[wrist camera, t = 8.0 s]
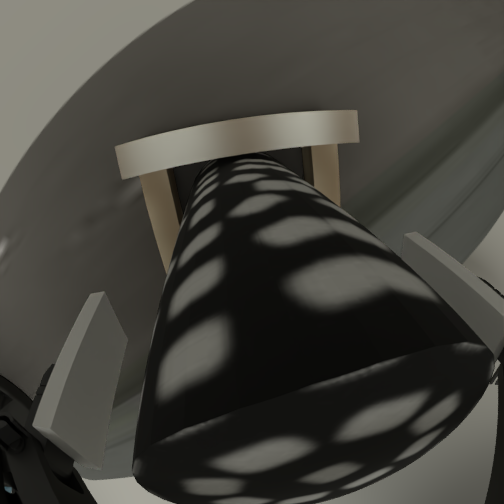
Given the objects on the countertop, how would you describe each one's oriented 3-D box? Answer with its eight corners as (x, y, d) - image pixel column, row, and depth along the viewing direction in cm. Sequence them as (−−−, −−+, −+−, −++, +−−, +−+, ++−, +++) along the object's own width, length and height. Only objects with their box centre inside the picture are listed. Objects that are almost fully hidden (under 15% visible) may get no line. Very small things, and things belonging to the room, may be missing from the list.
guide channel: (201, 352, 29) (201, 397, 24) (140, 138, 19) (114, 146, 14) (328, 328, 30) (347, 367, 24) (321, 110, 20) (356, 110, 14)
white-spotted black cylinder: (313, 207, 23) (485, 410, 6) (236, 266, 25) (281, 516, 7) (251, 127, 20) (493, 212, 2) (169, 197, 21) (64, 465, 4)
